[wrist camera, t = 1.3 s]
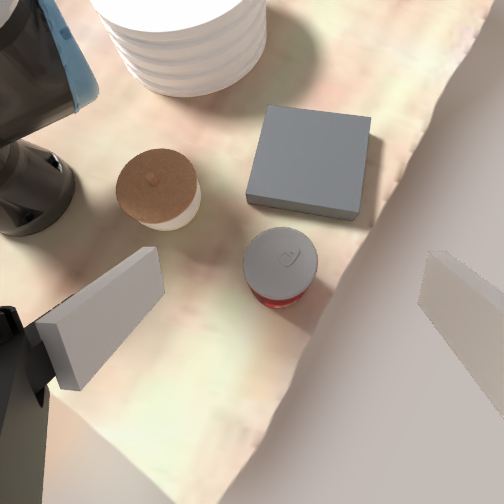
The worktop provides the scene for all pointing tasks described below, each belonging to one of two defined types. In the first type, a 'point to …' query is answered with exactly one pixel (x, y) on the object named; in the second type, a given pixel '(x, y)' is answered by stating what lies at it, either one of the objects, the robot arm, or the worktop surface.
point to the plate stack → (186, 41)
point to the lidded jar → (159, 189)
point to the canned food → (280, 266)
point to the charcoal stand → (310, 162)
